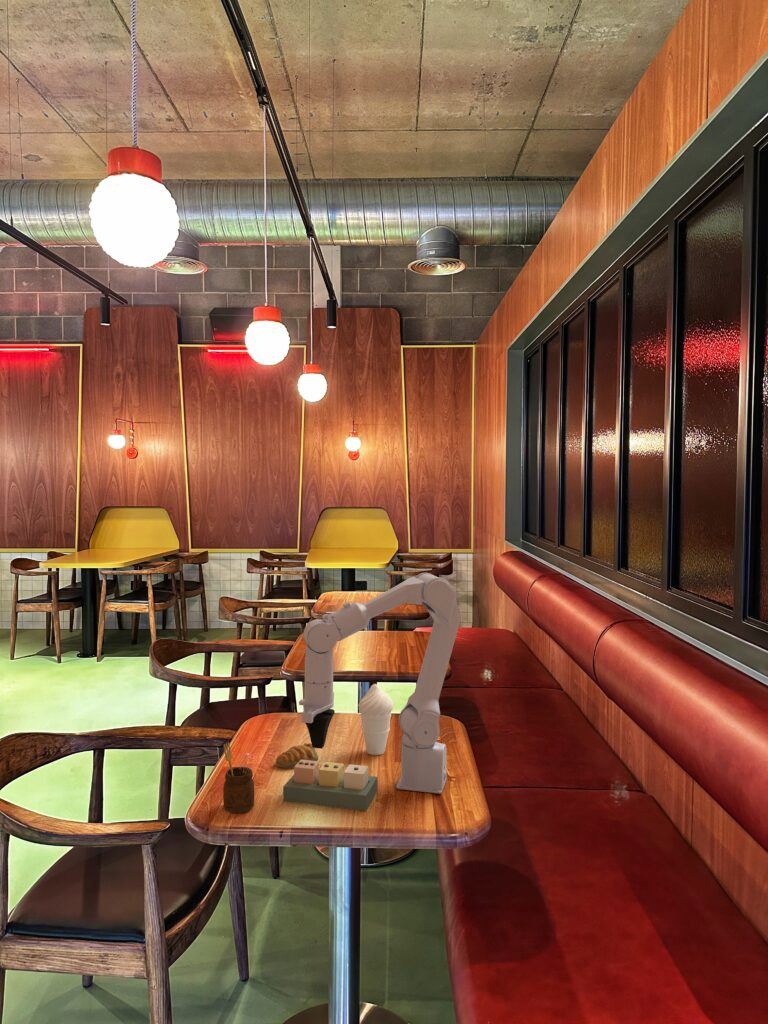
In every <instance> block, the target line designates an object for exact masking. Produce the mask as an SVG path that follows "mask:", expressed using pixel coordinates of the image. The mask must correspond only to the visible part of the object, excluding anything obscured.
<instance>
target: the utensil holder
mask: <svg viewBox="0 0 768 1024" xmlns="http://www.w3.org/2000/svg"><path fill="white" fill-rule="evenodd" d="M223 750H224V756H225V761H228V765H229V769H227V770H226V772H225V773H224V774H225V775H224V779H225V780H224V783H223V788H222V789H223V791H222V792H223V796H222V797H223V799H222V800H223V801H222V802H223V809H224V810H225V811H226V812H227V813H230V814H243V813H247V812H249V811H251V810H252V809H253V808H254V806H255V781H254V779H253V776H254V775H253V770H252V769H251V766H250V764H252V762H253V760H252V759H253V757H252V755H251V754H250V753H249V752H248V753H247V752H246V753H244V752H243V754H242V756H240V759H241V760H239V762H238V763H239V766H236V767H232V765H233V764H232V759H233V754H232V750H231V745H230V742H229V741H228V742H227V743H224V744H223ZM247 755H248V757H249V758H248V759H249V760H248V759H245V758H247ZM244 759H245V761H244V763H243V762H242V761H243V760H244ZM247 760H248V761H249V762H250V763H247ZM245 762H246V763H247V764H248V765H247V766H242V764H243V765H246V763H245Z"/></svg>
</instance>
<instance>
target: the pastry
mask: <svg viewBox="0 0 768 1024" xmlns="http://www.w3.org/2000/svg"><path fill="white" fill-rule="evenodd" d="M300 760H311V761H319V755H318V752H317V750H316V748H313V747H312V744H311V742H305V743H304V744H299V745H294V746H291V747H290V748H289V749H288V750H286V751H283V752H282V753H281V754H279V755H278V756H277V757H276V760H275V765H276V766H277V767H280V768H282V769H286V770H287V769H294V767H295V765H296V764H297V763H298V762H299V761H300Z"/></svg>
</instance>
